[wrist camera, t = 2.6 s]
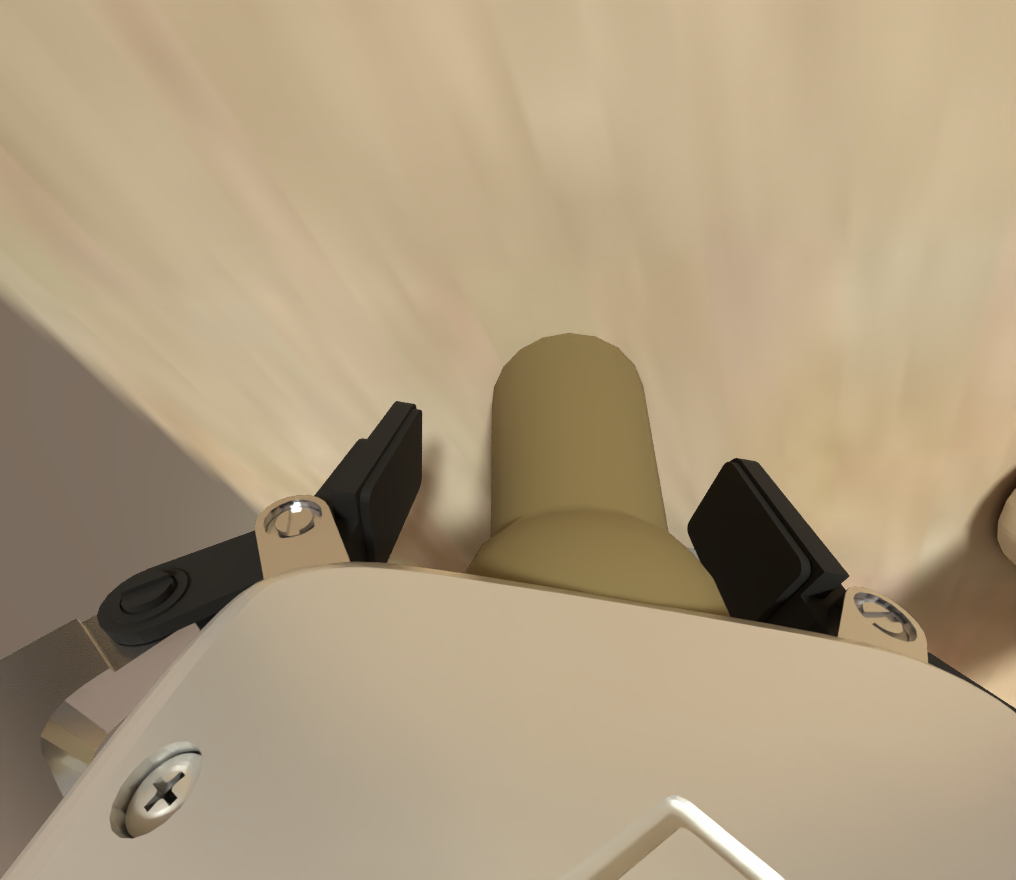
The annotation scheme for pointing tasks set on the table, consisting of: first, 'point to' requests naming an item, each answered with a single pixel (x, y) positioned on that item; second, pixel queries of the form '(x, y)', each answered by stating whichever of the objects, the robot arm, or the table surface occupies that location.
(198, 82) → the table surface
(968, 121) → the table surface
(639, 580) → the cork
